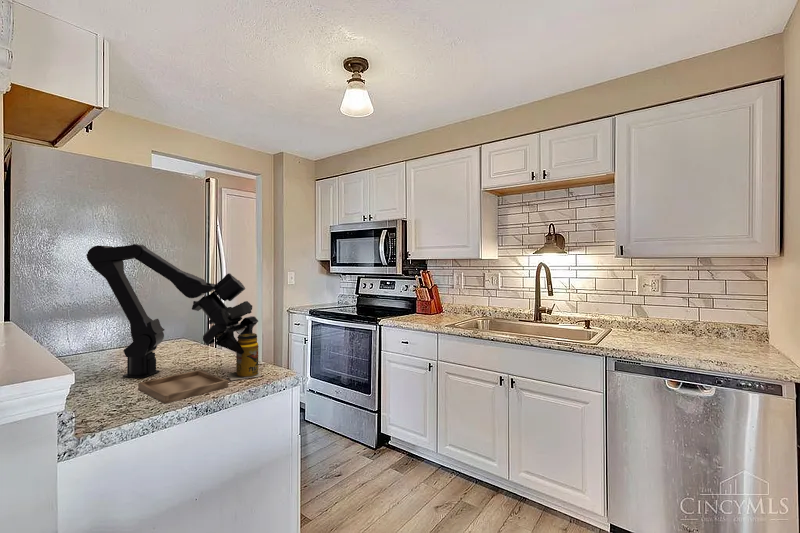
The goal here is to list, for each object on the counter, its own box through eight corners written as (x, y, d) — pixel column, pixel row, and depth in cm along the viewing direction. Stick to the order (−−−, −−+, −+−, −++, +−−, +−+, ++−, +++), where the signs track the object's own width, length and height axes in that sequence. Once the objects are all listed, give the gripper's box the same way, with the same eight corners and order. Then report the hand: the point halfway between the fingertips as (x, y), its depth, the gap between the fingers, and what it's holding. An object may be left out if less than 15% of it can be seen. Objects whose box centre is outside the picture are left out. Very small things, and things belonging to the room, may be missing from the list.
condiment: (262, 376, 114) (262, 335, 113) (230, 381, 109) (230, 338, 109) (256, 370, 120) (256, 331, 119) (226, 374, 115) (226, 333, 115)
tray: (164, 403, 92) (164, 396, 91) (138, 389, 101) (138, 382, 101) (228, 386, 104) (228, 380, 104) (199, 375, 113) (199, 369, 113)
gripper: (211, 296, 106) (247, 339, 104) (253, 290, 124) (284, 327, 122) (187, 323, 108) (221, 366, 106) (231, 314, 126) (261, 350, 124)
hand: (249, 350), depth 114 cm, fingers closed on condiment, 6 cm apart
